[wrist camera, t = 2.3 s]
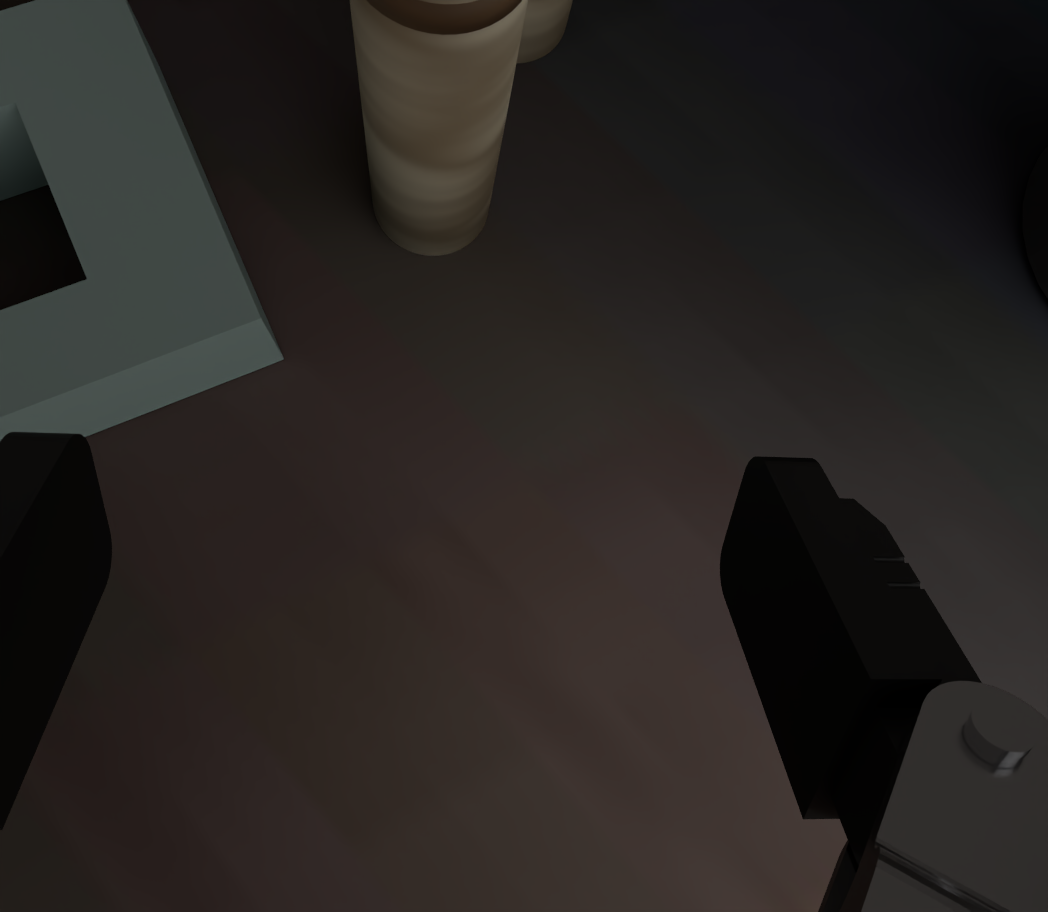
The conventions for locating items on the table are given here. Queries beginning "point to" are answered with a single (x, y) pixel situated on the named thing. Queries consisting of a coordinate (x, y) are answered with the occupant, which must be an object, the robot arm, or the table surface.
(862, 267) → the table surface
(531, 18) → the short pin
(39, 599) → the robot arm
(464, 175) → the tall pin
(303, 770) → the table surface
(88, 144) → the socket block
